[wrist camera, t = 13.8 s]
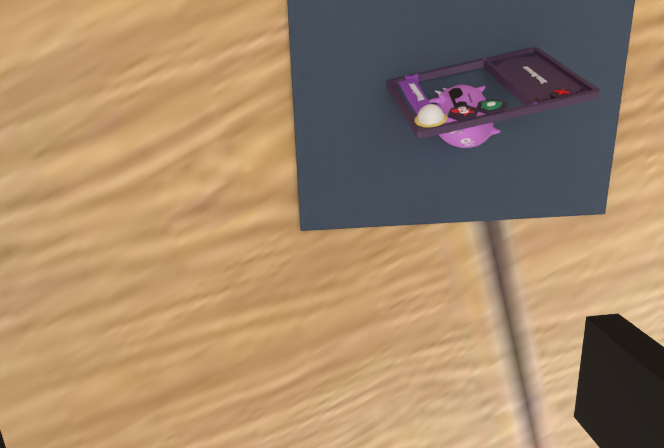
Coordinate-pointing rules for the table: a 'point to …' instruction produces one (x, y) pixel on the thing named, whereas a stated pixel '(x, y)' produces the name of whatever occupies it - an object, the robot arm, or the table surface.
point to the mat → (433, 152)
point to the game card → (478, 113)
